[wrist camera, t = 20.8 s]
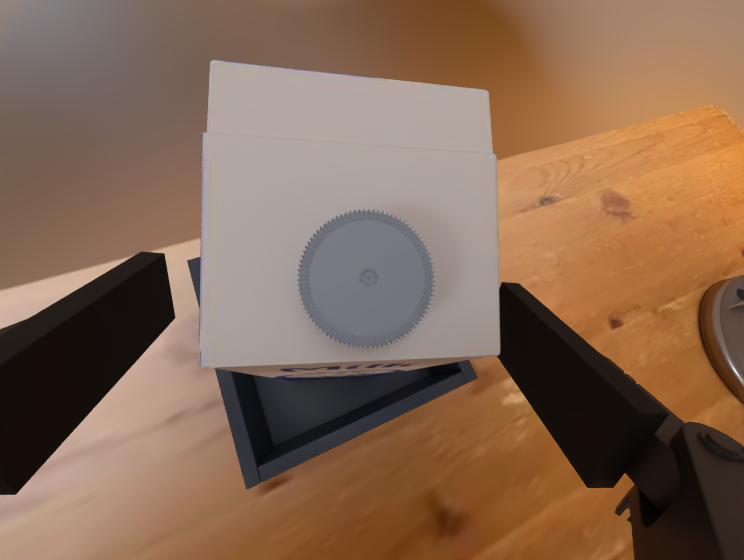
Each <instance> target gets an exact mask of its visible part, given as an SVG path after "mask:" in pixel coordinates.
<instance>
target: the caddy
mask: <svg viewBox="0 0 744 560" xmlns="http://www.w3.org/2000/svg"><path fill="white" fill-rule="evenodd" d="M188 266H189V270H190V273H191V277H192V281H193V285H194V289H195V293H196V297H197V301H198V304H199V308H200V257H198V258H195V259H191V260H188ZM215 370H216V374H217V378H218V382H219V386H220V390H221V393H222V397H223V401H224V405H225V409H226V413H227V417H228V421H229V424H230V428H231V432H232V436H233V440H234V444H235V448H236V452H237V455H238V459H239V463H240V467H241V471H242V475H243V479H244V483H245V486H246V489H249V488H251V487H253V486H255V485H257V484H260V483H261V482H264V481H266V480H268V479H270V478H272V477H274V476H276V475H278V474H280V473H282V472H284V471H286V470H289V469H291V468H293V467H295V466H297V465H299V464H301V463H303V462H305V461H307V460H309V459H311V458H313V457H315V456H318V455H320V454H322V453H324V452H326V451H328V450H330V449H332V448H334V447H336V446H338V445H340V444H342V443H344V442H347V441H349V440H351V439H353V438H355V437H357V436H359V435H361V434H363V433H365V432H367V431H369V430H371V429H373V428H375V427H378V426H380V425H382V424H384V423H386V422H388V421H390V420H392V419H394V418H396V417H398V416H400V415H402V414H404V413H407V412H409V411H411V410H413V409H415V408H417V407H419V406H421V405H423V404H425V403H427V402H429V401H431V400H433V399H435V398H438V397H440V396H442V395H444V394H446V393H448V392H450V391H452V390H454V389H456V388H458V387H460V386H462V385H464V384H466V383H469V382H471V381H473V380H475V379H477V376H476V374H475V371H474V369H473V367H472V365H471V363H470V361H469V360H465V361H459V362H453V363H448V364H442V365H437V366H431V367H425V368H420V369H414V370H409V371H403V372H397V373H392V374H386V375H381V376H375V377H355V378H336V379H316V380H297V381H288V380H282V379H276V378H270V377H264V376H258V375H252V374H246V373H240V372H234V371H228V370H222V369H216V368H215Z"/></svg>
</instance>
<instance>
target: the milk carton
mask: <svg viewBox="0 0 744 560" xmlns="http://www.w3.org/2000/svg"><path fill="white" fill-rule="evenodd" d="M492 151H493V150H492V136H491V122H490V107H489V94H488V91H486V90H480V89H472V88H463V87H454V86H444V85H435V84H426V83H417V82H408V81H399V80H390V79H381V78H372V77H363V76H354V75H344V74H336V73H326V72H318V71H309V70H299V69H291V68H281V67H272V66H264V65H254V64H245V63H236V62H227V61H218V60H213V61H211V63H210V80H209V100H208V122H207V132H202V191H201V194H202V195H201V258H200V325H199V364H200V367H201V368H216V369H222V370H228V371H234V372H240V373H246V374H252V375H258V376H264V377H270V378H276V379H282V380H288V381H297V380H316V379H336V378H355V377H375V376H381V375H386V374H392V373H397V372H403V371H409V370H414V369H420V368H425V367H431V366H437V365H442V364H448V363H453V362H459V361H465V360H470V359H476V358H481V357H487V356H494V355H499V354H500V307H499V256H498V205H497V159H496V158H497V157H496V154H493V152H492Z"/></svg>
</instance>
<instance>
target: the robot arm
mask: <svg viewBox="0 0 744 560" xmlns="http://www.w3.org/2000/svg"><path fill="white" fill-rule="evenodd" d="M499 307H500V354H499V355H497V357H498V358H499V360H500V361H501V362H502V364H503V365H504V367H505V368H506V370H507V371H508V373H509V374H510V376H511V377H512V379H513V380H514V381H515V383H516V384H517V386H518V387H519V389H520V390H521V392H522V393H523V395H524V396H525V397H526V399H527V400H528V402H529V403H530V405H531V406H532V408H533V409H534V411H535V412H536V414H537V415H538V416H539V418H540V419H541V421H542V422H543V424H544V425H545V427H546V428H547V430H548V431H549V432H550V434H551V435H552V437H553V438H554V440H555V441H556V443H557V444H558V446H559V447H560V448H561V450H562V451H563V453H564V454H565V456H566V457H567V459H568V460H569V462H570V463H571V465H572V466H573V467H574V469H575V470H576V472H577V473H578V475H579V476H580V478H581V479H582V481H583V482H584V483H585V485H586V486H587V488H613V487H614V486H615V485H616V484H617V482H618V481H619V480H620V478H621V477H622V476H623V474H624V473H626V474H627V475H628V477H629V478H630V479H631V480H632V481H633V483H634V486H633V487H632V488H631V489H630V491H629V492H628V493H627V494H626V496H625V497H624V498H623V499H622V501H621V502H620V503H619V504H618V506H617V507H616V511H615V513H616V514H617V515H619V516H620V515H621V514H622V513H623V512H624V511H625V509H628V508H629V509H630V514H631V516H630V517H629V518H628V519H627V521H629V522H631V525H632V536H633V548H634V559H635V560H744V446H743V445H741V444H740V443H738V442H737V441H735V440H734V439H732V438H731V437H729V436H728V435H726V434H724V433H722V432H720V431H718V430H716V429H714V428H712V427H709V426H706V425H703V424H700V423H695V422H687V423H684V422H683V421H682V420H680V419H679V418H678V417H677V416H676V415H675V414H673V413H672V412H671V411H670V410H669V409H668V408H666V407H665V406H664V405H663V404H662V403H661V402H659V401H658V400H657V399H656V398H655V397H654V396H652V395H651V394H650V393H649V392H648V391H646V390H645V389H644V388H643V387H642V386H641V385H639V384H636V381H635V380H634V379H632V378H631V377H630V376H629V375H628V374H624V371H623V370H622V369H621V368H620V367H618V366H617V365H616V364H615V363H614V362H612V361H611V360H610V359H608V358H607V357H605V356H604V355H602V354H600V353H599V352H598V351H596V350H595V349H594V348H593V347H592V346H591V345H589V344H588V343H587V342H586V341H585V340H584V339H582V338H581V337H580V336H579V335H578V334H577V333H576V332H574V331H573V330H572V329H571V328H570V327H569V326H567V325H566V324H565V323H564V322H563V321H562V320H560V319H559V318H558V317H557V316H556V315H555V314H554V313H552V312H551V311H550V310H549V309H548V308H547V307H545V306H544V305H543V304H542V303H541V302H540V301H538V300H537V299H536V298H535V297H534V296H533V295H532V294H530V293H529V292H528V291H527V290H526V289H525V288H523V287H522V286H521V285H520V284H518V283H507V282H502V283H501V286H500V289H499ZM174 319H175V313H174V307H173V301H172V295H171V289H170V284H169V278H168V272H167V266H166V260H165V254H163V253H152V252H140V253H139V254H137V255H135V256H133V257H131V258H130V259H128V260H126V261H125V262H123V263H121V264H120V265H118V266H116V267H115V268H113V269H111V270H110V271H108V272H106V273H105V274H103V275H101V276H99V277H98V278H96V279H94V280H93V281H91V282H89V283H88V284H86V285H84V286H83V287H81V288H79V289H78V290H76V291H74V292H72V293H71V294H69V295H67V296H66V297H64V298H62V299H61V300H59V301H57V302H56V303H54V304H52V305H51V306H49V307H47V308H46V309H44V310H42V311H40V312H39V313H37V314H35V315H34V316H32V317H30V318H29V319H26V320H23V321H21V322H18V323H16V324H13V325H10V326H8V327H5V328H2V329H0V495H16V494H17V493H18V492H19V490H20V489H21V488H22V487H23V486H24V485H25V484H26V483H27V482H28V480H29V479H30V478H31V477H32V476H33V475H34V474H35V473H36V472H37V471H38V469H39V468H40V467H41V466H42V465H43V464H44V463H45V462H46V461H47V459H48V458H49V457H50V456H51V455H52V454H53V453H54V452H55V451H56V449H57V448H58V447H59V446H60V445H61V444H62V443H63V442H64V441H65V440H66V438H67V437H68V436H69V435H70V434H71V433H72V432H73V431H74V430H75V428H76V427H77V426H78V425H79V424H80V423H81V422H82V421H83V420H84V418H85V417H86V416H87V415H88V414H89V413H90V412H91V411H92V410H93V408H94V407H95V406H96V405H97V404H98V403H99V402H100V401H101V400H102V399H103V397H104V396H105V395H106V394H107V393H108V392H109V391H110V390H111V389H112V387H113V386H114V385H115V384H116V383H117V382H118V381H119V380H120V379H121V377H122V376H123V375H124V374H125V373H126V372H127V371H128V370H129V369H130V368H131V366H132V365H133V364H134V363H135V362H136V361H137V360H138V359H139V358H140V356H141V355H142V354H143V353H144V352H145V351H146V350H147V349H148V348H149V346H150V345H151V344H152V343H153V342H154V341H155V340H156V339H157V338H158V336H159V335H160V334H161V333H162V332H163V331H164V330H165V329H166V328H167V327H168V325H169V324H170V323H171V322H172V321H173V320H174ZM700 325H701V332H702V337H703V340H704V344H705V347H706V349H707V352H708V354H709V356H710V358H711V361H712V363H713V364H714V366H715V368H716V370H717V371H718V373H719V374H720V376H721V377H722V379H723V380H724V382H725V383H726V384H727V385H728V387H729V388H730V389H731V390H732V391H733V393H734V394H735V395H736V396H737V397H738V398H739V399H740V400H741V401H742V402H743V403H744V275H742V276H738V277H734V278H731V279H727V280H723V281H720V282H718V283H716V284H715V285H713V286H712V287H711V288H710V289H709V290H708V291H707V293H706V294H705V296H704V299H703V301H702V304H701V310H700Z"/></svg>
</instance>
